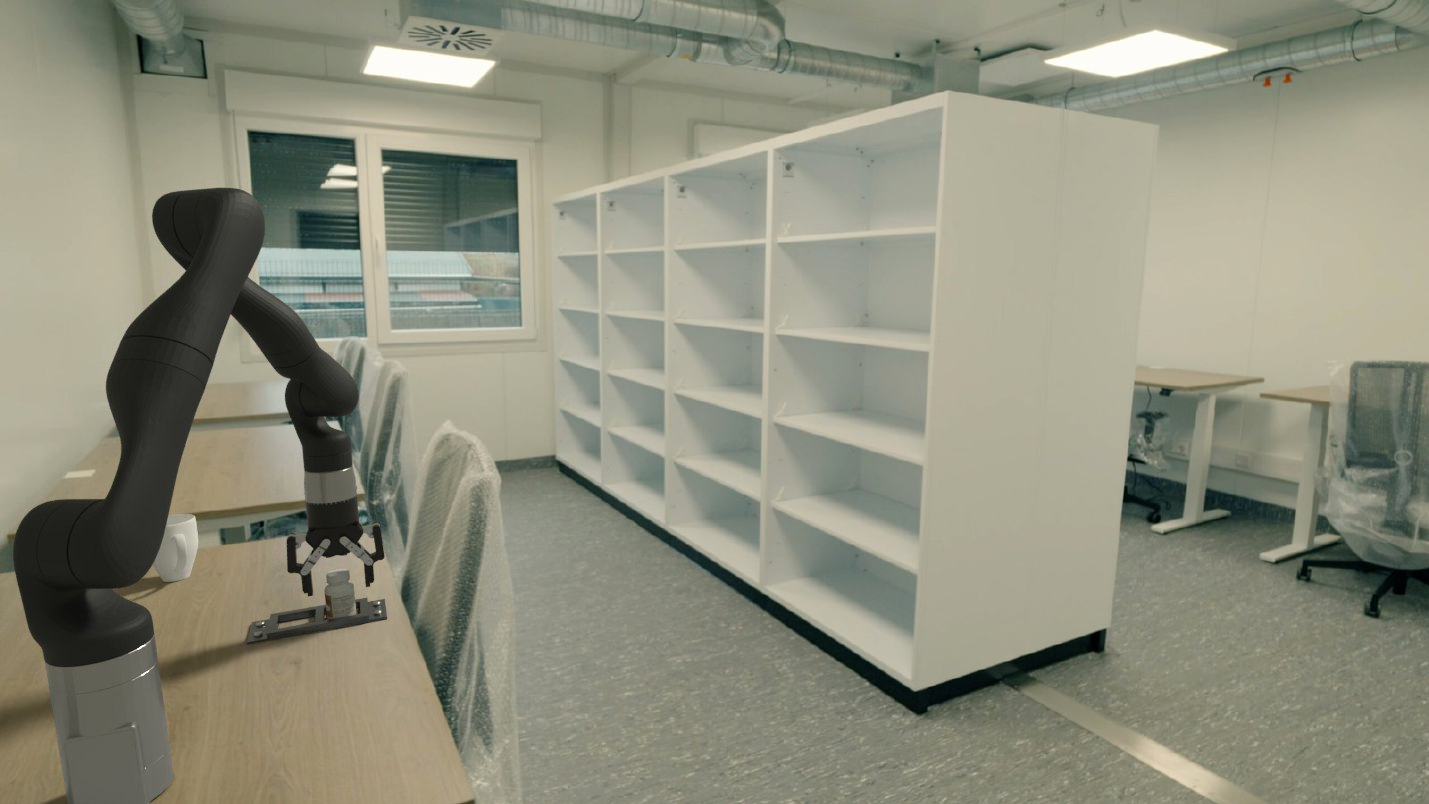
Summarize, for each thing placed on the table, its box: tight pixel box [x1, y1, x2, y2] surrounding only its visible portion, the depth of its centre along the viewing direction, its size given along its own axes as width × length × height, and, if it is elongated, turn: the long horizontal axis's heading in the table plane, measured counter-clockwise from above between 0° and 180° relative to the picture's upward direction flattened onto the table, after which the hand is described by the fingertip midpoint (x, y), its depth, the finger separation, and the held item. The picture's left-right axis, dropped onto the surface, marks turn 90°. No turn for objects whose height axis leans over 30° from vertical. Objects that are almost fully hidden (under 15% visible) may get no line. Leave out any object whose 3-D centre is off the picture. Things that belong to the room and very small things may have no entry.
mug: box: [152, 513, 199, 583], centre depth 143 cm, size 12×8×11 cm
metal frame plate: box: [246, 597, 388, 646], centre depth 126 cm, size 8×20×1 cm, turn 116°
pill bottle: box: [324, 568, 356, 620], centre depth 127 cm, size 4×4×8 cm
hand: (339, 589), depth 127 cm, fingers open, 8 cm apart
